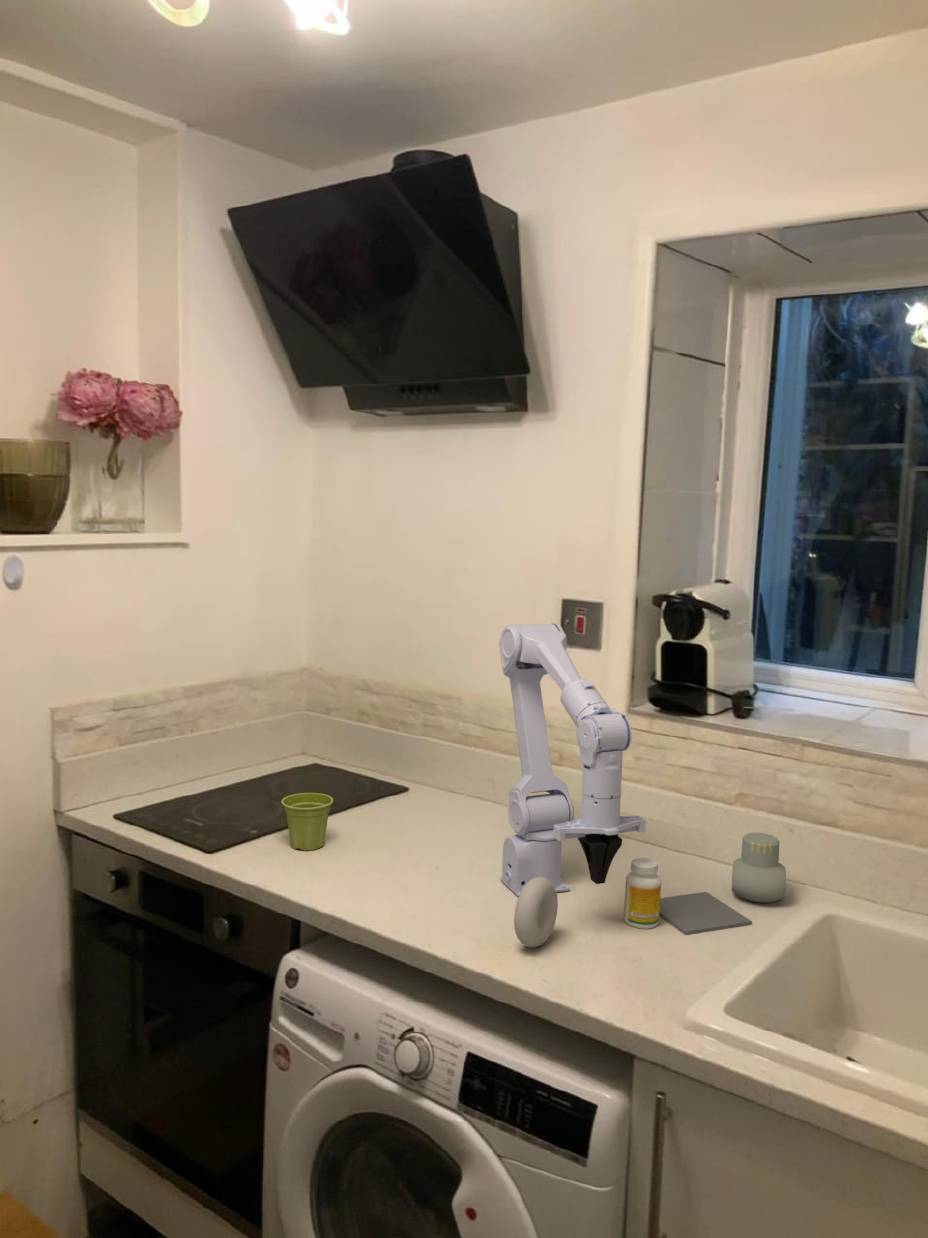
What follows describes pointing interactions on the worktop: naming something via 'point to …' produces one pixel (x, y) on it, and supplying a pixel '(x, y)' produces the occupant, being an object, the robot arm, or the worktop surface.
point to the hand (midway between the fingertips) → (597, 881)
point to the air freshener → (759, 869)
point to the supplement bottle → (642, 894)
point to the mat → (699, 913)
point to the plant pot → (307, 819)
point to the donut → (535, 912)
